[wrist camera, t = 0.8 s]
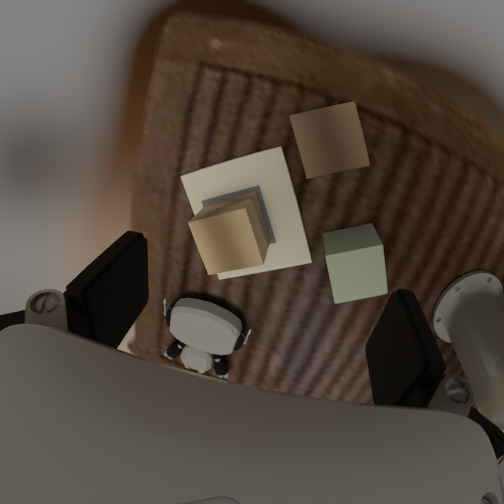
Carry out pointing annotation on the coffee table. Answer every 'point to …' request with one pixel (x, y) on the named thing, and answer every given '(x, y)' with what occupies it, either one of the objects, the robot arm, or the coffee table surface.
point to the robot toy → (203, 334)
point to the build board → (270, 198)
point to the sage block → (355, 263)
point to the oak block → (231, 234)
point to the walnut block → (330, 139)
